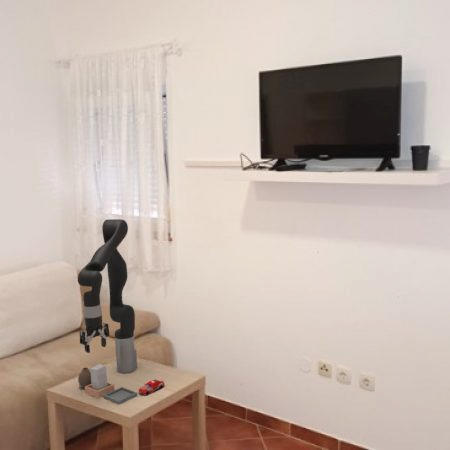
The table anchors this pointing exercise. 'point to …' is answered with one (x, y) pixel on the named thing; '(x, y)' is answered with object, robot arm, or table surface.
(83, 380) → the vase
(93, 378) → the skincare box
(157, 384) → the race car
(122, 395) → the tray
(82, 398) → the table surface
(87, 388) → the holder
